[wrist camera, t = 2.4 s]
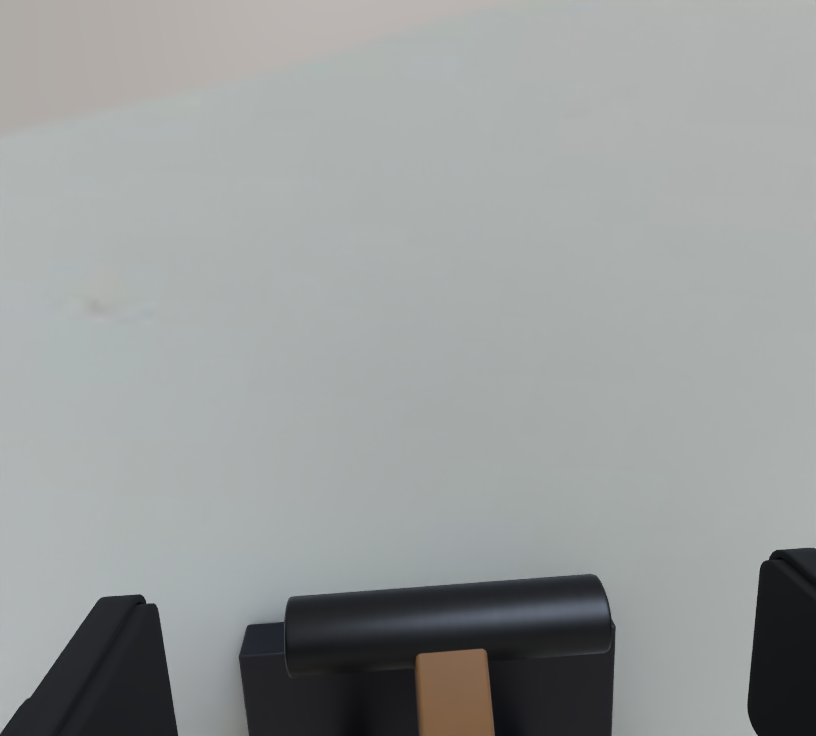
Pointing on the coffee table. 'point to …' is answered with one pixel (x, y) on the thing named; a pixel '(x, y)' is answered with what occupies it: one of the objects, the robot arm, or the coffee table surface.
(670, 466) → the coffee table surface
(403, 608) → the lever
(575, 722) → the bracket
